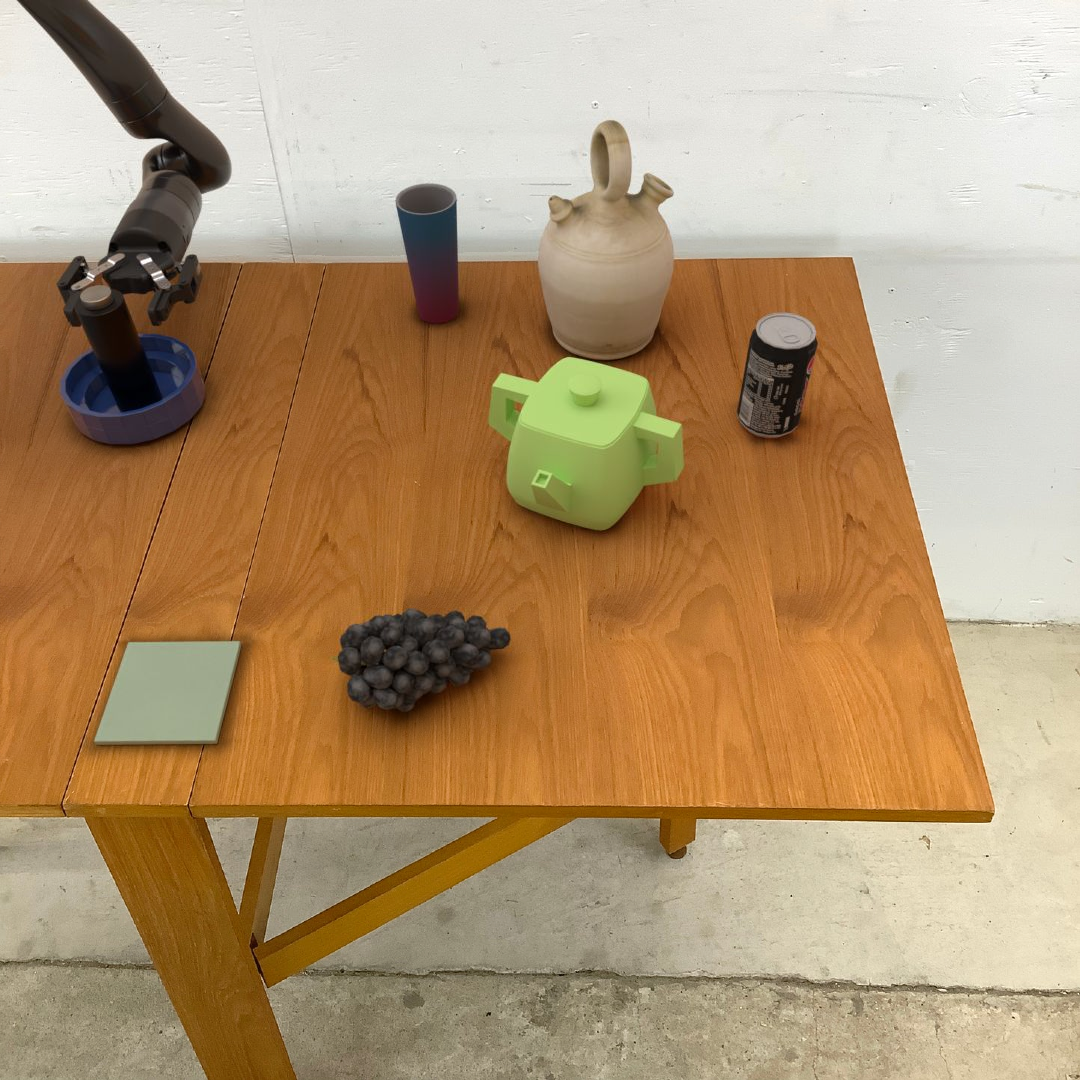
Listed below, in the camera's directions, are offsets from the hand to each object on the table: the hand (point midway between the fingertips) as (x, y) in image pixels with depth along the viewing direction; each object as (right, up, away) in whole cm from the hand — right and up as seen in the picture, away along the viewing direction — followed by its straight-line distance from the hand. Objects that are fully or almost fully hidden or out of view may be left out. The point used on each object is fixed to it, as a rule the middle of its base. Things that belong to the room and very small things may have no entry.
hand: (112, 319), depth 102 cm
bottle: (0, -8, +6) cm, 10 cm away
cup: (+32, +5, +18) cm, 37 cm away
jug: (+52, +2, +15) cm, 54 cm away
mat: (+13, -36, -19) cm, 43 cm away
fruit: (+35, -35, -18) cm, 53 cm away
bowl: (0, -8, +7) cm, 11 cm away
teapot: (+48, -19, -4) cm, 52 cm away
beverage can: (+69, -10, +3) cm, 70 cm away
